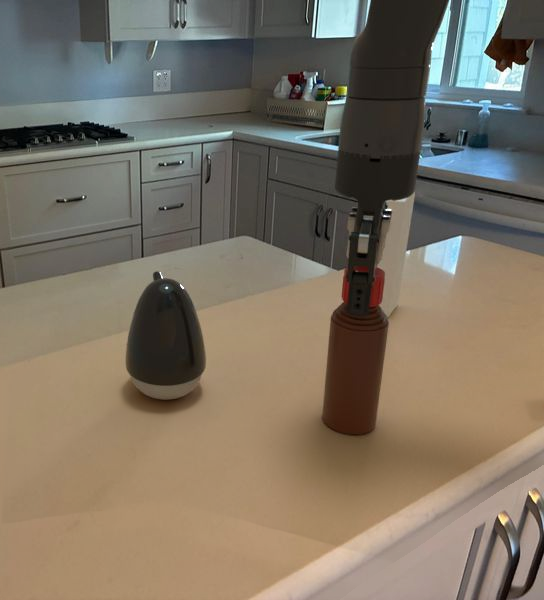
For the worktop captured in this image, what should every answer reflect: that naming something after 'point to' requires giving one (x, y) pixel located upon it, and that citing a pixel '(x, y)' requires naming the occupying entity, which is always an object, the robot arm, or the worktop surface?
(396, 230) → the milk
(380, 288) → the cap
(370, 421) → the bottle
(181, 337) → the dark grey egg-shaped piece
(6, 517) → the worktop surface
